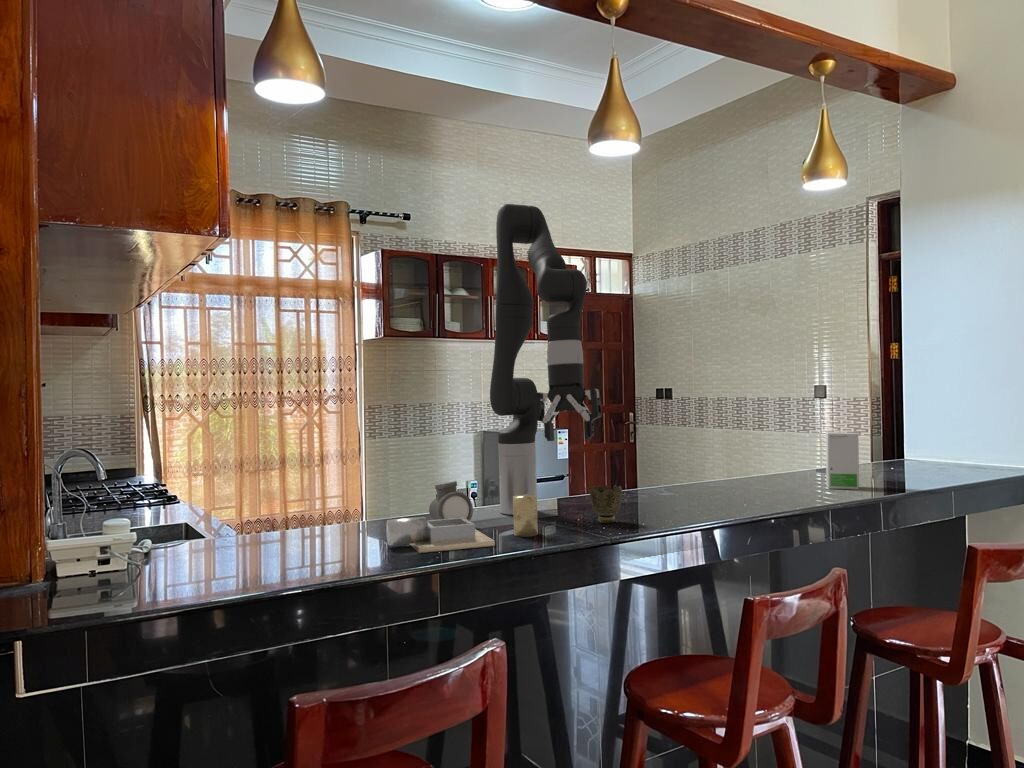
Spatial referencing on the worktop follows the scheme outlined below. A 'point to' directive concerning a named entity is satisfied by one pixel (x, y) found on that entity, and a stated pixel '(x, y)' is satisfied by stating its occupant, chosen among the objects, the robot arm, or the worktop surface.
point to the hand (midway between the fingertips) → (569, 440)
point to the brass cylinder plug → (525, 515)
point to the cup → (606, 502)
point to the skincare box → (842, 460)
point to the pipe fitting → (450, 503)
